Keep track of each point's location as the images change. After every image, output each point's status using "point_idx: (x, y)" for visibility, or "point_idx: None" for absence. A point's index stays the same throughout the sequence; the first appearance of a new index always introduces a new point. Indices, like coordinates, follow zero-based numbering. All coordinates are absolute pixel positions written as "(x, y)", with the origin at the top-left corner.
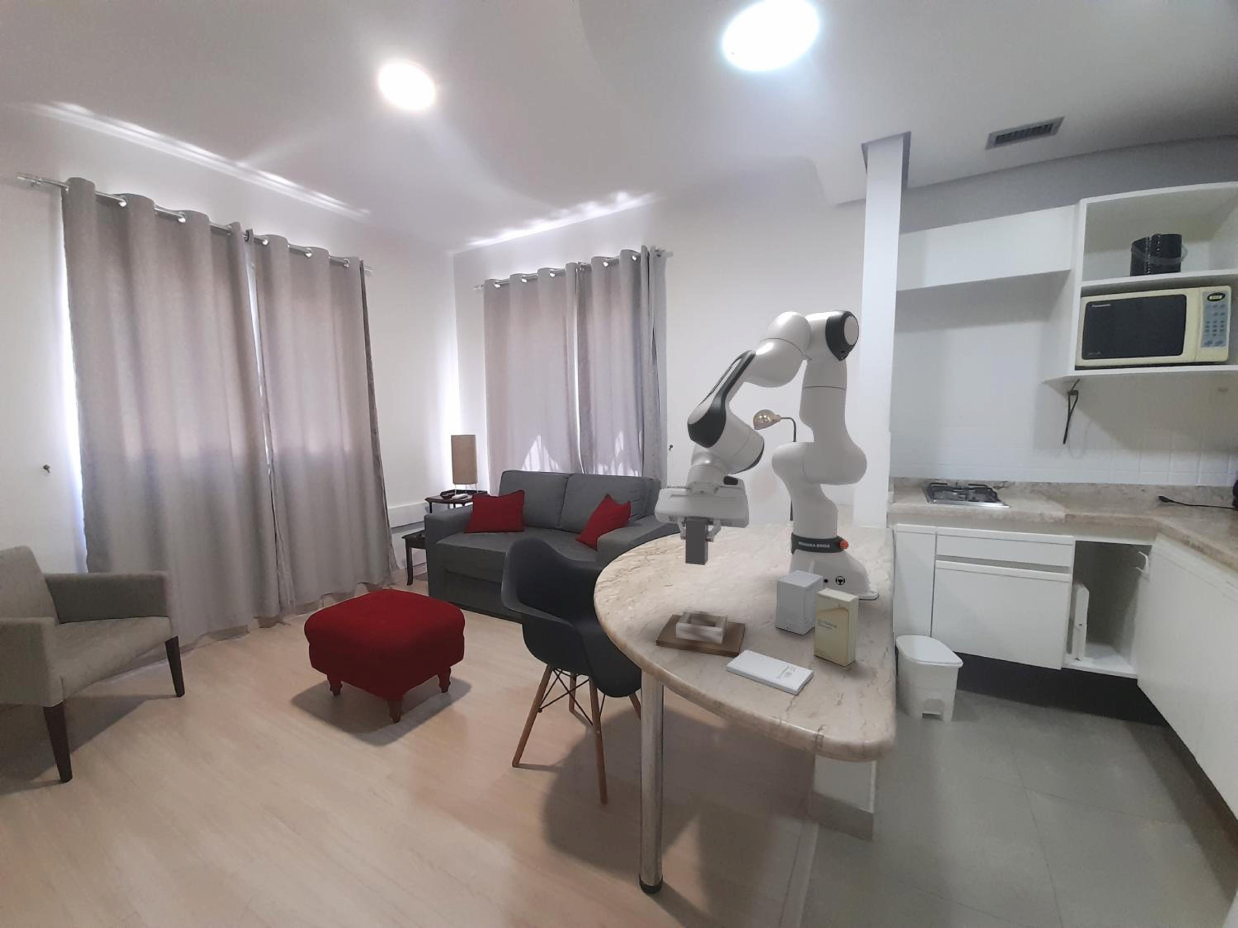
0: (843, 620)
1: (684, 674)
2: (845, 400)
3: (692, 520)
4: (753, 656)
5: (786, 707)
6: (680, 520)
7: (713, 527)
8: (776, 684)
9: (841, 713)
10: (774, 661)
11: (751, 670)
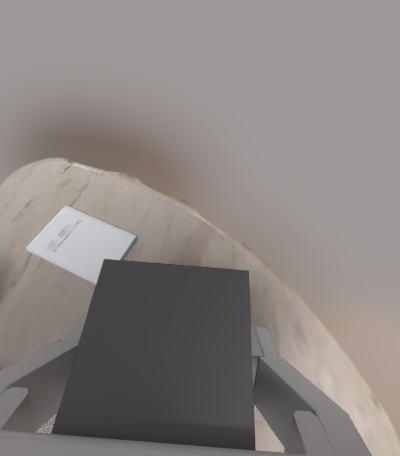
0: None
1: (186, 219)
2: None
3: (200, 281)
4: (96, 265)
5: (86, 188)
6: (326, 421)
7: (50, 360)
8: (84, 213)
9: (36, 189)
10: (70, 258)
11: (107, 230)
